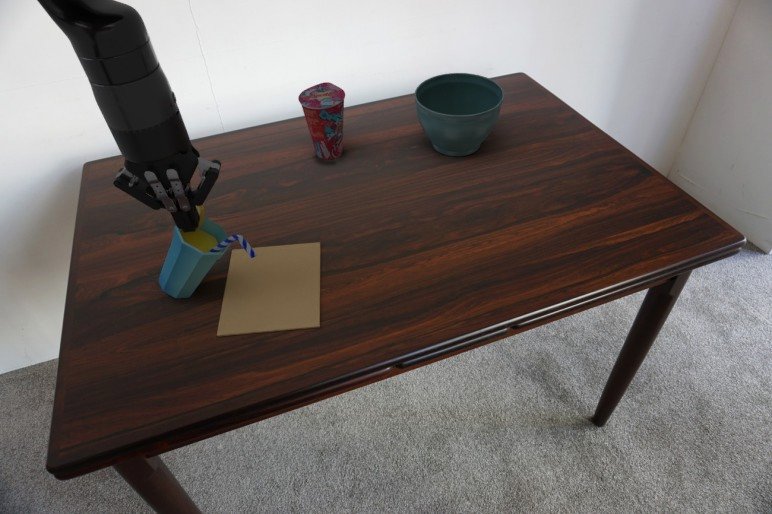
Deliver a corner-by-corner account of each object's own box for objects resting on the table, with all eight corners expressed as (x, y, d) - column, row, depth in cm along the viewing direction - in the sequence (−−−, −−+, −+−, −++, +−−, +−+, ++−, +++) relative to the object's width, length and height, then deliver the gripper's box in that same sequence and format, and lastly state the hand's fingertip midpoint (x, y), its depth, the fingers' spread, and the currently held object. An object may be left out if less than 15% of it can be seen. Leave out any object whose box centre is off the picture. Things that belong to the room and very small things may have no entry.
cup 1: (232, 311, 78) (276, 243, 71) (194, 333, 72) (238, 261, 64) (169, 248, 80) (206, 176, 73) (126, 264, 74) (162, 186, 66)
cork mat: (217, 336, 71) (216, 335, 71) (232, 250, 83) (232, 249, 83) (319, 327, 71) (319, 326, 71) (320, 243, 84) (320, 242, 83)
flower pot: (448, 178, 95) (451, 124, 87) (398, 139, 105) (397, 88, 97) (514, 148, 101) (523, 96, 93) (461, 114, 111) (465, 65, 103)
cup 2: (357, 158, 100) (351, 100, 92) (315, 169, 98) (305, 111, 90) (341, 134, 107) (335, 78, 98) (301, 144, 105) (291, 88, 96)
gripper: (67, 133, 54) (133, 252, 66) (196, 121, 54) (238, 242, 66) (89, 98, 59) (147, 214, 71) (207, 87, 59) (244, 205, 72)
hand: (191, 227), depth 69 cm, fingers closed
